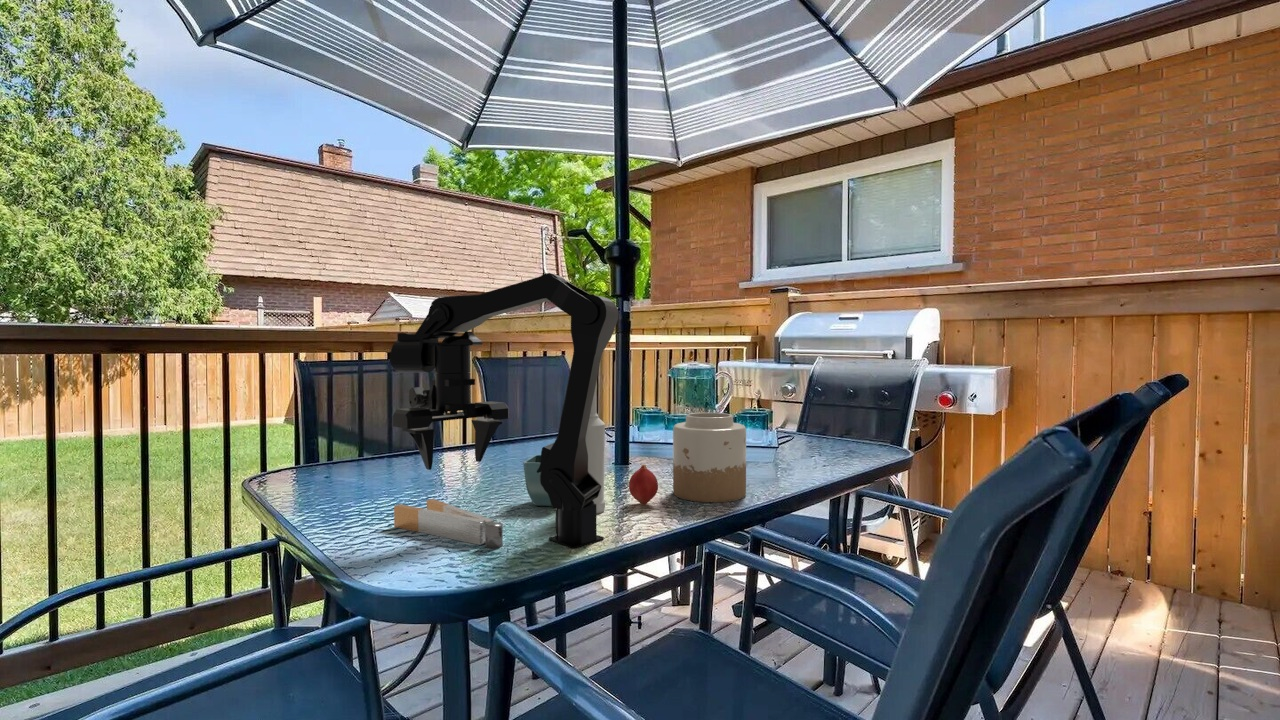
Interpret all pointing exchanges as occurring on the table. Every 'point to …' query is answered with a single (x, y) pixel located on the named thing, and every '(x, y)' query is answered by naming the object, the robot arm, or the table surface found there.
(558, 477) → the robot arm
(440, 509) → the base
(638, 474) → the onion
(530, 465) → the flower pot
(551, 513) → the table surface
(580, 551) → the table surface
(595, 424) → the bottle
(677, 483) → the vase
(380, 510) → the table surface
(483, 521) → the tong arm
